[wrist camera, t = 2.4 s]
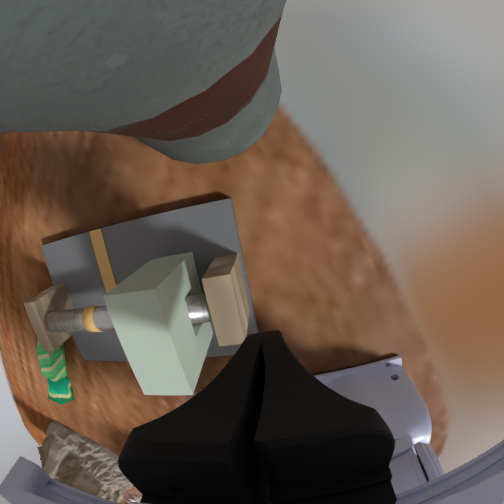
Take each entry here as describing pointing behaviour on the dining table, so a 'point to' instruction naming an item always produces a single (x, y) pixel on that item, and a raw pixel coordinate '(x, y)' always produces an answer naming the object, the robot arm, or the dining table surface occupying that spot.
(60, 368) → the candy
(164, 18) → the bottle
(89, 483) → the jagged grey rock
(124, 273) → the pipe rig
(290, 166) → the dining table surface
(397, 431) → the robot arm
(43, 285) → the dining table surface
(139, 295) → the grey square nut
